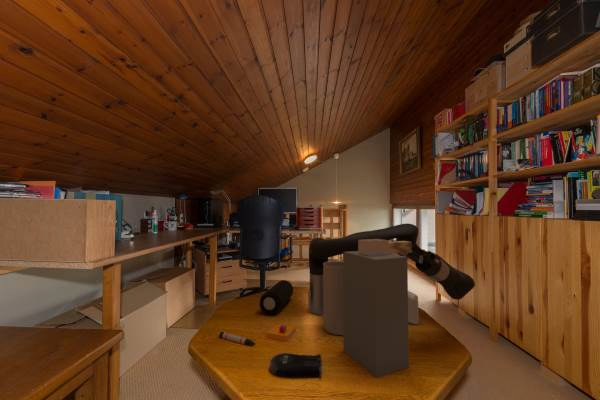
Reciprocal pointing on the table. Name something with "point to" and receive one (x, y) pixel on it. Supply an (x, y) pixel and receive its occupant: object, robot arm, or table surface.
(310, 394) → the table surface
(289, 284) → the portable speaker
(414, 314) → the photo printer
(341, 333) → the cylinder vase
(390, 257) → the tall shelf
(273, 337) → the orange wooden platform
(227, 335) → the marker
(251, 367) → the table surface
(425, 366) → the table surface
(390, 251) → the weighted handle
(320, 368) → the electronic device
